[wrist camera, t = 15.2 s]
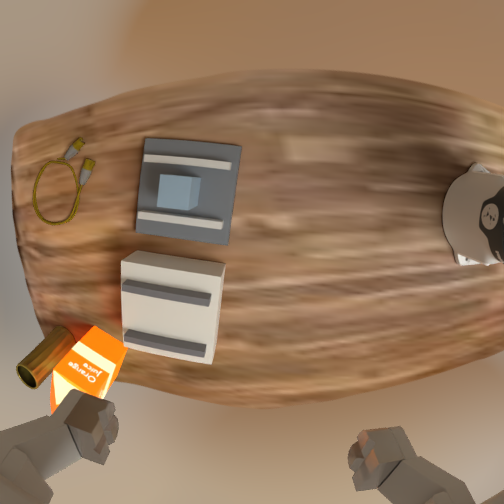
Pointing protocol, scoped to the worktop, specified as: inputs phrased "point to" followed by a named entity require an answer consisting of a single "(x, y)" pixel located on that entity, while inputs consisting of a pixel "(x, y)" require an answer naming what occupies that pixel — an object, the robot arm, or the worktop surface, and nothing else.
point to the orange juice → (88, 367)
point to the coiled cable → (83, 177)
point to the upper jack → (171, 305)
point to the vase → (45, 357)
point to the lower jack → (210, 194)
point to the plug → (178, 191)
